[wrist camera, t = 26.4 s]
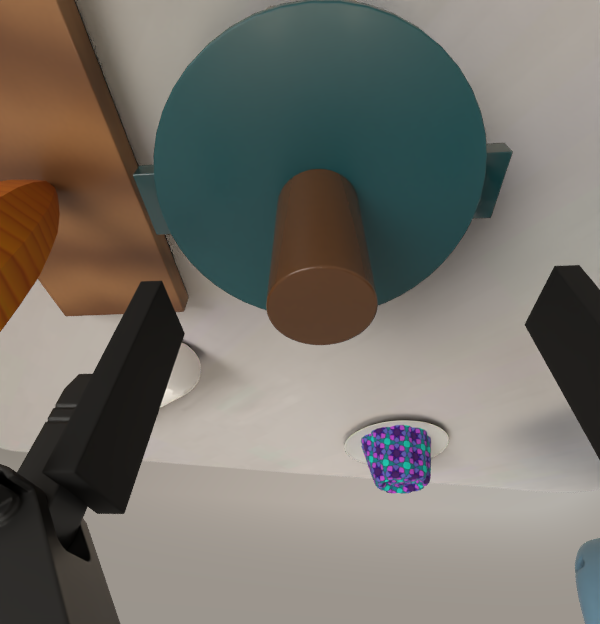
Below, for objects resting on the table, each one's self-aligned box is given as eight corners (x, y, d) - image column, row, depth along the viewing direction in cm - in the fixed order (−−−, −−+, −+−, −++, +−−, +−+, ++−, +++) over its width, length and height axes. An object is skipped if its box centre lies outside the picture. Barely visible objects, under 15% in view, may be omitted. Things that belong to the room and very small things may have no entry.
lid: (443, 305, 22) (484, 416, 17) (203, 314, 22) (174, 422, 17) (537, -21, 12) (713, 12, 7) (97, 17, 12) (-46, 72, 7)
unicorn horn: (57, 426, 43) (36, 468, 39) (160, 326, 30) (142, 375, 27) (98, 439, 45) (81, 480, 42) (209, 351, 33) (197, 399, 29)
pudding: (327, 451, 47) (329, 495, 43) (375, 404, 39) (382, 454, 35) (410, 466, 50) (418, 509, 46) (469, 426, 42) (485, 474, 38)
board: (188, 297, 28) (184, 312, 27) (74, 302, 29) (65, 316, 28) (39, -93, 14) (17, -95, 13) (-183, -69, 14) (-222, -70, 13)
